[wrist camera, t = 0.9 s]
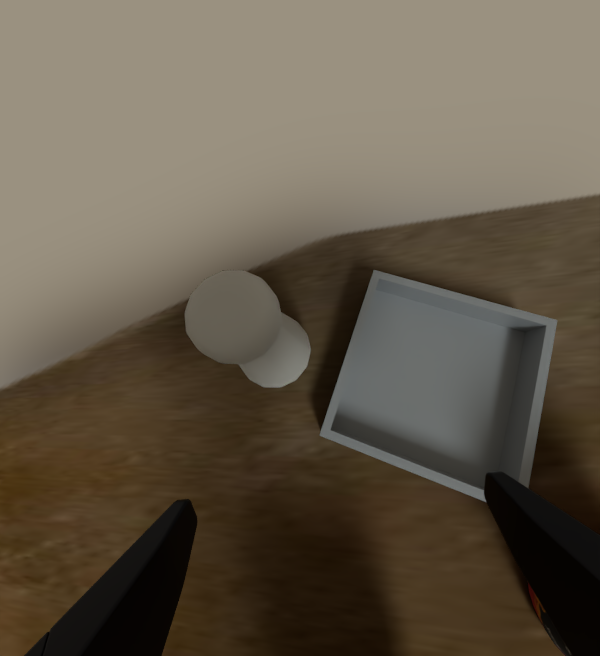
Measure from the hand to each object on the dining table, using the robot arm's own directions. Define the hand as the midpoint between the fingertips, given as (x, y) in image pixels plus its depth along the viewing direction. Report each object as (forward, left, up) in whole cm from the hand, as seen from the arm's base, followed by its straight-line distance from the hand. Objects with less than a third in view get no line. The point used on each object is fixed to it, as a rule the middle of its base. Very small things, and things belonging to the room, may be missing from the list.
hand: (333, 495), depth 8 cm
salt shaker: (+5, +6, -14) cm, 16 cm away
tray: (+7, -6, -14) cm, 17 cm away
